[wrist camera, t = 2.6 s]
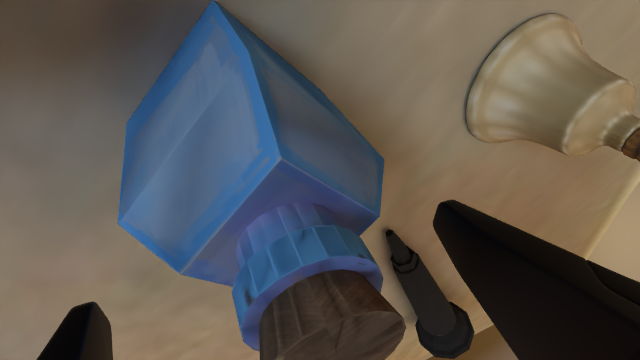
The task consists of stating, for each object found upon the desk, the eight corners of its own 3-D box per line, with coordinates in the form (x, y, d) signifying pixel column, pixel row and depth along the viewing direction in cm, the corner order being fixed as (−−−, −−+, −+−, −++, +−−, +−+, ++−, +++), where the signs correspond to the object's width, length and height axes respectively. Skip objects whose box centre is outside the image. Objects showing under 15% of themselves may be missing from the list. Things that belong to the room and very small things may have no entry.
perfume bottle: (244, 180, 18) (332, 430, 10) (126, 123, 14) (96, 459, 6) (321, 90, 17) (505, 290, 8) (213, -1, 13) (349, 200, 4)
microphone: (351, 216, 28) (418, 320, 40) (359, 277, 24) (432, 373, 36) (415, 193, 27) (465, 308, 39) (437, 253, 23) (486, 361, 34)
